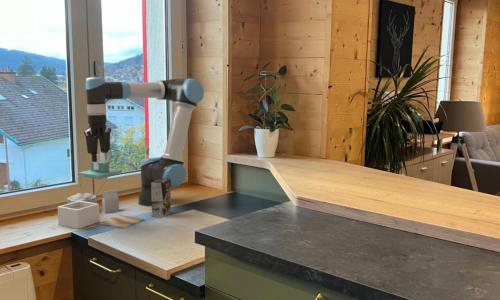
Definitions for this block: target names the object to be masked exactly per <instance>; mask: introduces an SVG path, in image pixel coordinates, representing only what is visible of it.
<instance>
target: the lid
mask: <svg viewBox="0 0 500 300" xmlns="http://www.w3.org/2000/svg"><path fill="white" fill-rule="evenodd" d="M99 168H100V169H99V170H97V169H94V163H93V161H90V170H84V171H80V172H77V176H83V177H84V178H91V179H96V180H102V179H106V178H110V177H114V176H117V174H121V173H123V170H122V169H113V168H110V162H108V161H106V162H100V161H99Z"/></svg>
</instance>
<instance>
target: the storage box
mask: <svg viewBox="0 0 500 300" xmlns="http://www.w3.org/2000/svg"><path fill="white" fill-rule="evenodd" d="M100 219H101V218H100V204H99V203H98V202H97V203H91V202H84V201H76V202H73V203H69V204H67V203H66V204H63V205H59V206H57V222H58V226H63V227H67V228H73V229H77V230H78V229H82V228H85V227H87V226H90V225H94V224H96V223H97V224H98V223H99V222H101V220H100Z"/></svg>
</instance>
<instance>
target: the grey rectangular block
mask: <svg viewBox="0 0 500 300" xmlns="http://www.w3.org/2000/svg"><path fill="white" fill-rule="evenodd" d="M119 200H120V199H119V194H118V190H117V189H114V190H113V189H112V190H111V189H110V190H104V191H102V197H101V209H102V210H101V211H102V212H103V213H104V214H109V213H115V212H119V211H120V201H119Z"/></svg>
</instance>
